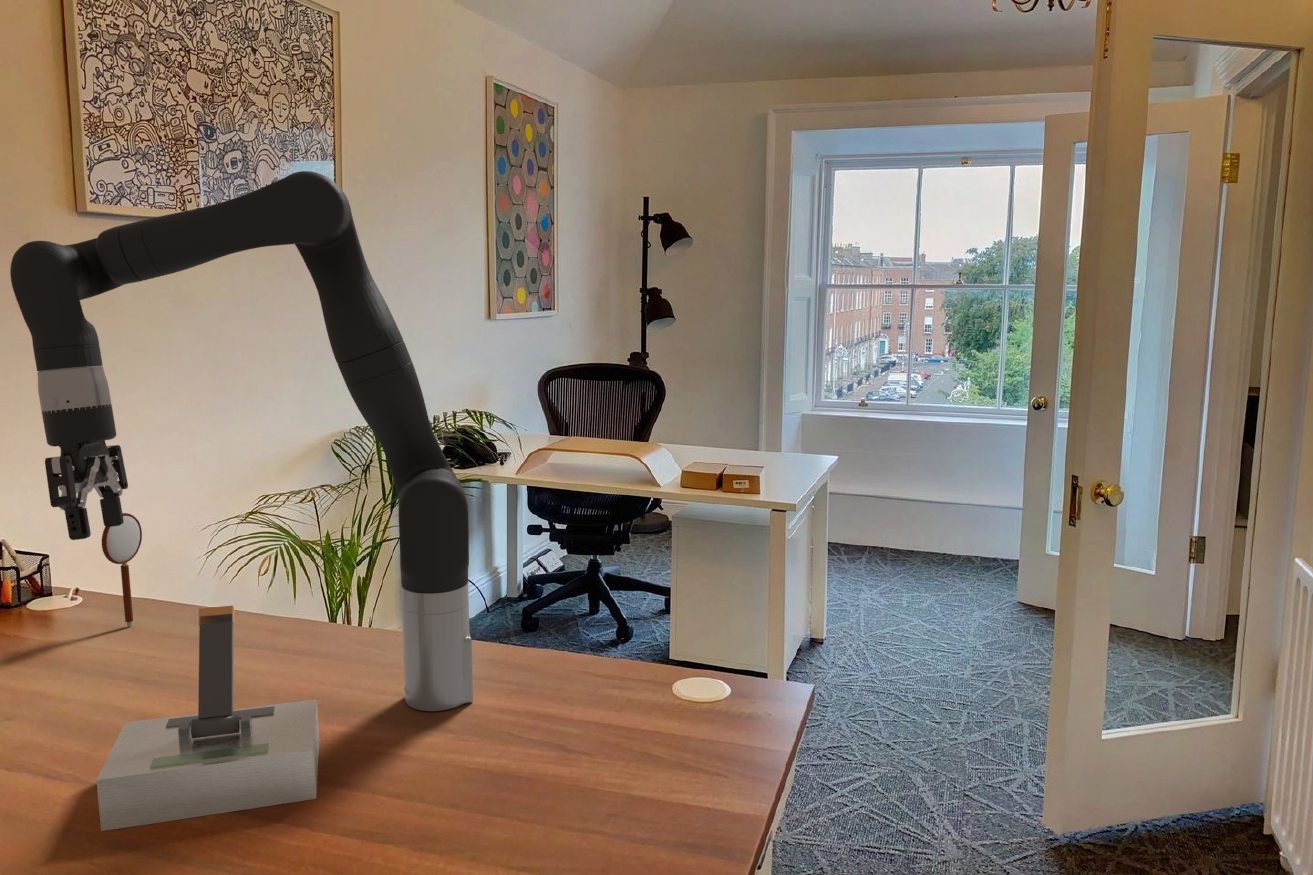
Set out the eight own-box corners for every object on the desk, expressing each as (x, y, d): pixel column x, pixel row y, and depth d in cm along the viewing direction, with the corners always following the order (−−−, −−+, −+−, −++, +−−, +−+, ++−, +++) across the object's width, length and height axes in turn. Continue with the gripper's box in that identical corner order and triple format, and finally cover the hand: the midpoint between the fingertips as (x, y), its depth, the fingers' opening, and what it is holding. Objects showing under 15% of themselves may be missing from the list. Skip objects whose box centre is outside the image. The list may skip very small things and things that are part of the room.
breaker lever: (240, 733, 112) (239, 607, 117) (237, 731, 110) (237, 604, 115) (193, 738, 110) (195, 611, 115) (190, 737, 108) (192, 608, 113)
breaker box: (319, 742, 122) (316, 684, 120) (316, 798, 108) (312, 734, 107) (128, 768, 115) (123, 706, 113) (101, 831, 102) (94, 762, 100)
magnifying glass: (115, 636, 157) (105, 520, 154) (106, 635, 157) (96, 519, 154) (151, 618, 165) (142, 508, 162) (143, 617, 166) (134, 507, 162)
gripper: (78, 405, 110) (101, 540, 112) (134, 398, 124) (153, 518, 126) (11, 412, 109) (35, 547, 111) (75, 404, 123) (95, 525, 125)
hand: (98, 532), depth 118 cm, fingers open, 8 cm apart
